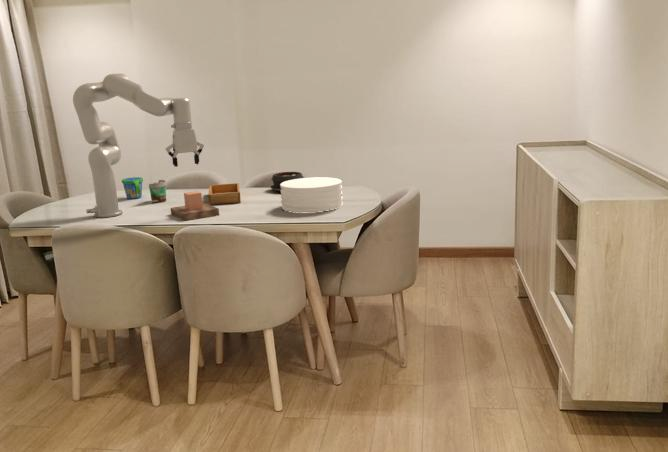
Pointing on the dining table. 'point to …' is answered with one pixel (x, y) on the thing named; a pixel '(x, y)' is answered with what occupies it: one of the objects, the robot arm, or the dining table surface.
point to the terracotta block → (193, 200)
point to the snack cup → (133, 187)
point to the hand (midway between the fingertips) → (186, 165)
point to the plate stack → (311, 194)
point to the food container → (158, 191)
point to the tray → (224, 194)
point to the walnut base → (194, 212)
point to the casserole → (284, 178)
